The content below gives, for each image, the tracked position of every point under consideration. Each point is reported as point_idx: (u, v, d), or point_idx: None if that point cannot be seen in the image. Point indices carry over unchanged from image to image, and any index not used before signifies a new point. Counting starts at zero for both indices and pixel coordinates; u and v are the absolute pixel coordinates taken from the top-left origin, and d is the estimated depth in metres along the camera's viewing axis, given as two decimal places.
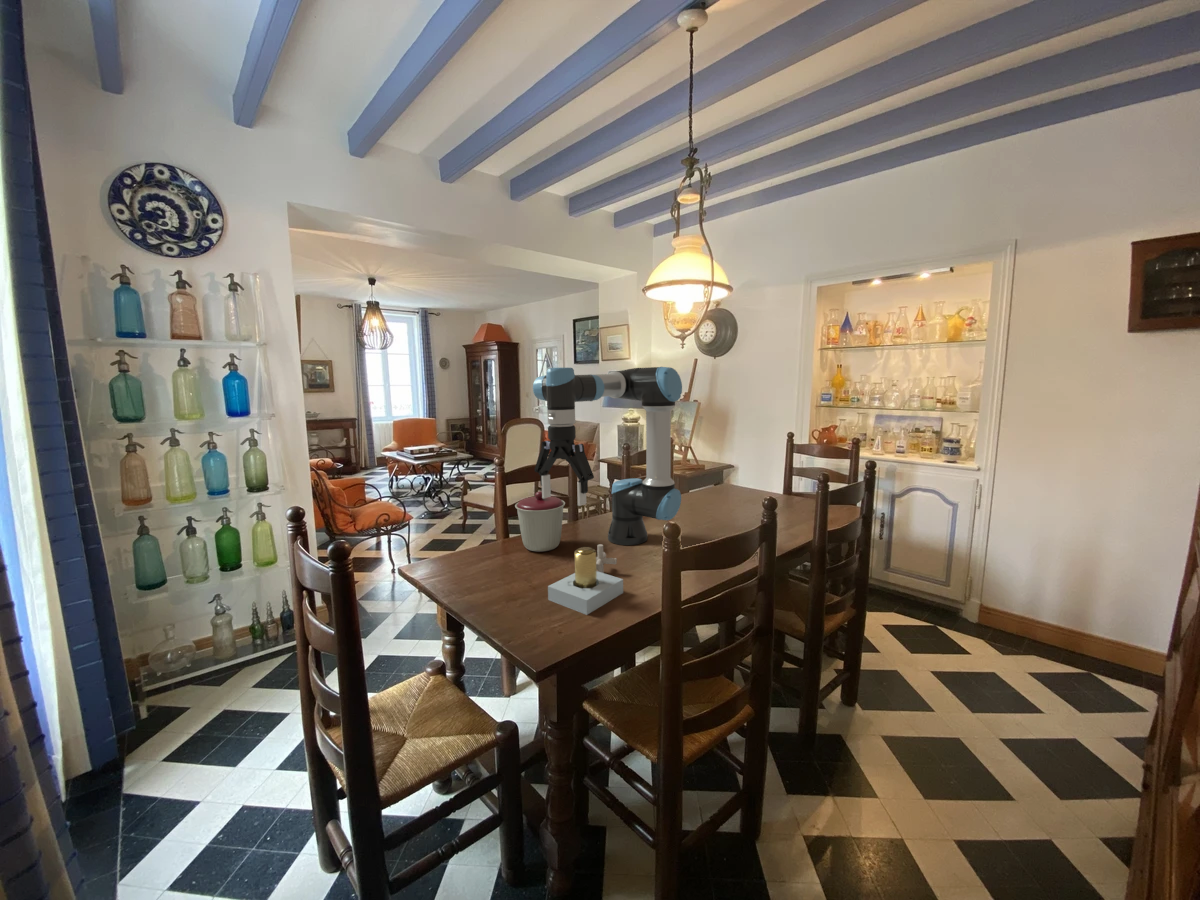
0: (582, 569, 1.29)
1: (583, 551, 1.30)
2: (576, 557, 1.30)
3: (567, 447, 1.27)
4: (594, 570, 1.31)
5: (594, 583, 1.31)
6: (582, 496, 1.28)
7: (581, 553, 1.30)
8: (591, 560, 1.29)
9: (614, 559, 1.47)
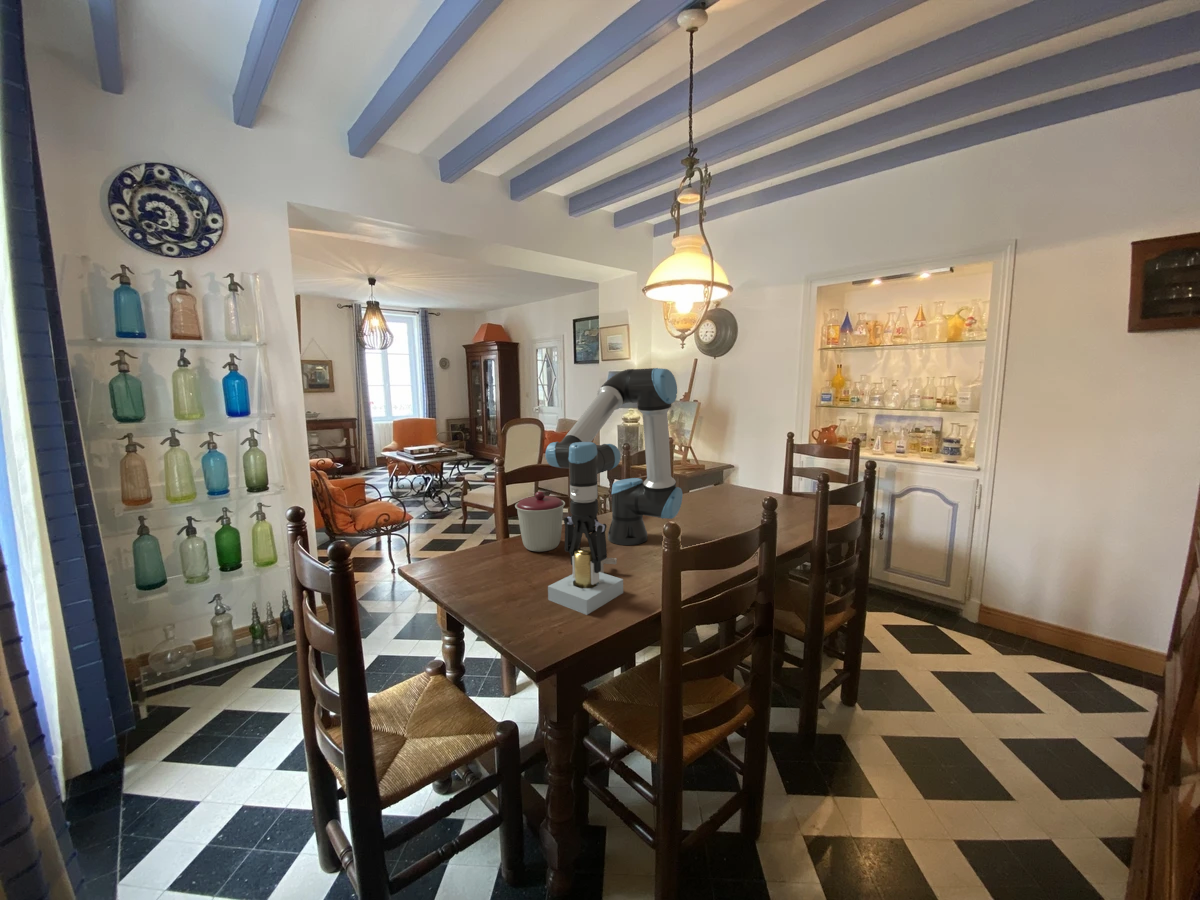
0: (582, 569, 1.29)
1: (583, 551, 1.30)
2: (576, 557, 1.30)
3: (590, 522, 1.27)
4: None
5: None
6: (595, 575, 1.30)
7: (581, 553, 1.30)
8: (591, 560, 1.29)
9: (614, 559, 1.47)
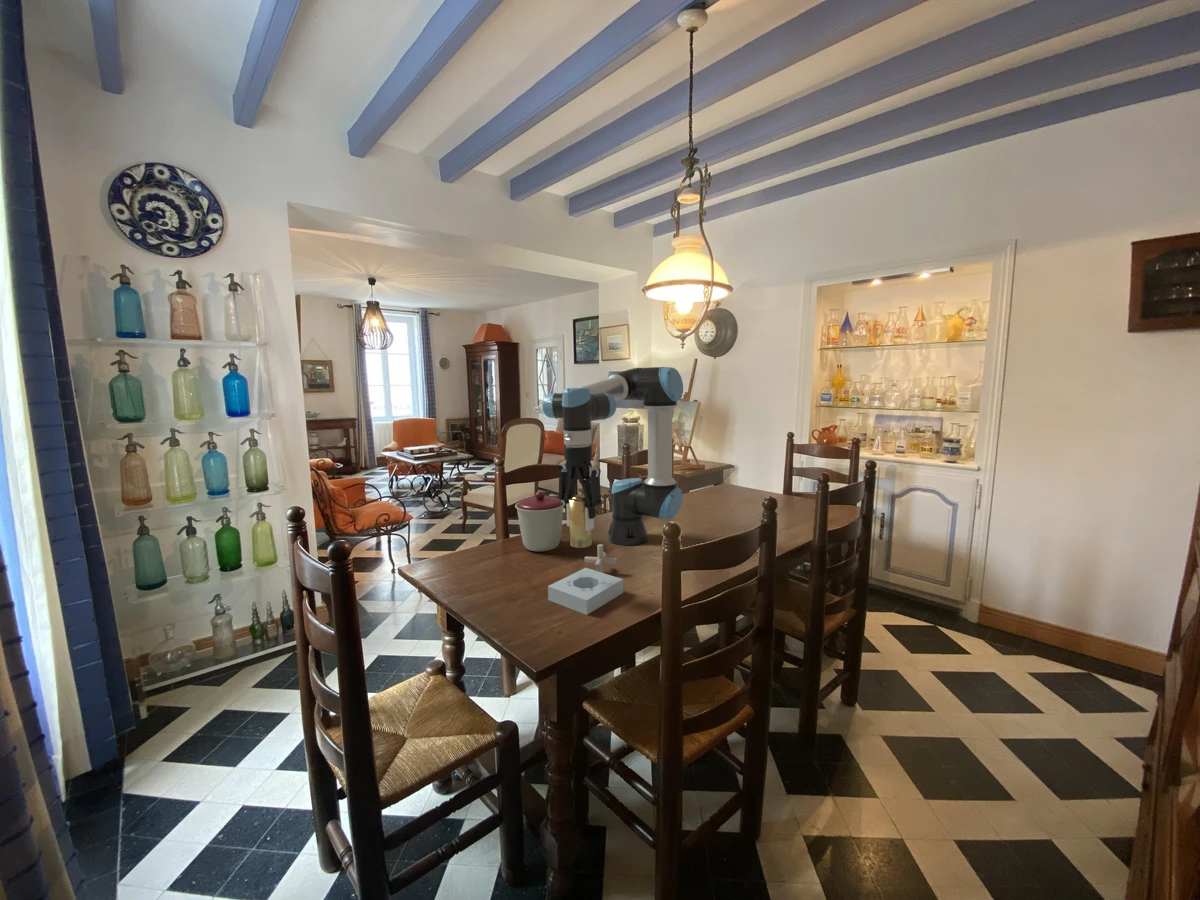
0: (576, 515, 1.29)
1: (577, 498, 1.30)
2: (570, 503, 1.30)
3: (584, 467, 1.27)
4: None
5: (589, 530, 1.31)
6: (590, 521, 1.30)
7: (575, 499, 1.29)
8: (585, 506, 1.29)
9: (614, 559, 1.47)
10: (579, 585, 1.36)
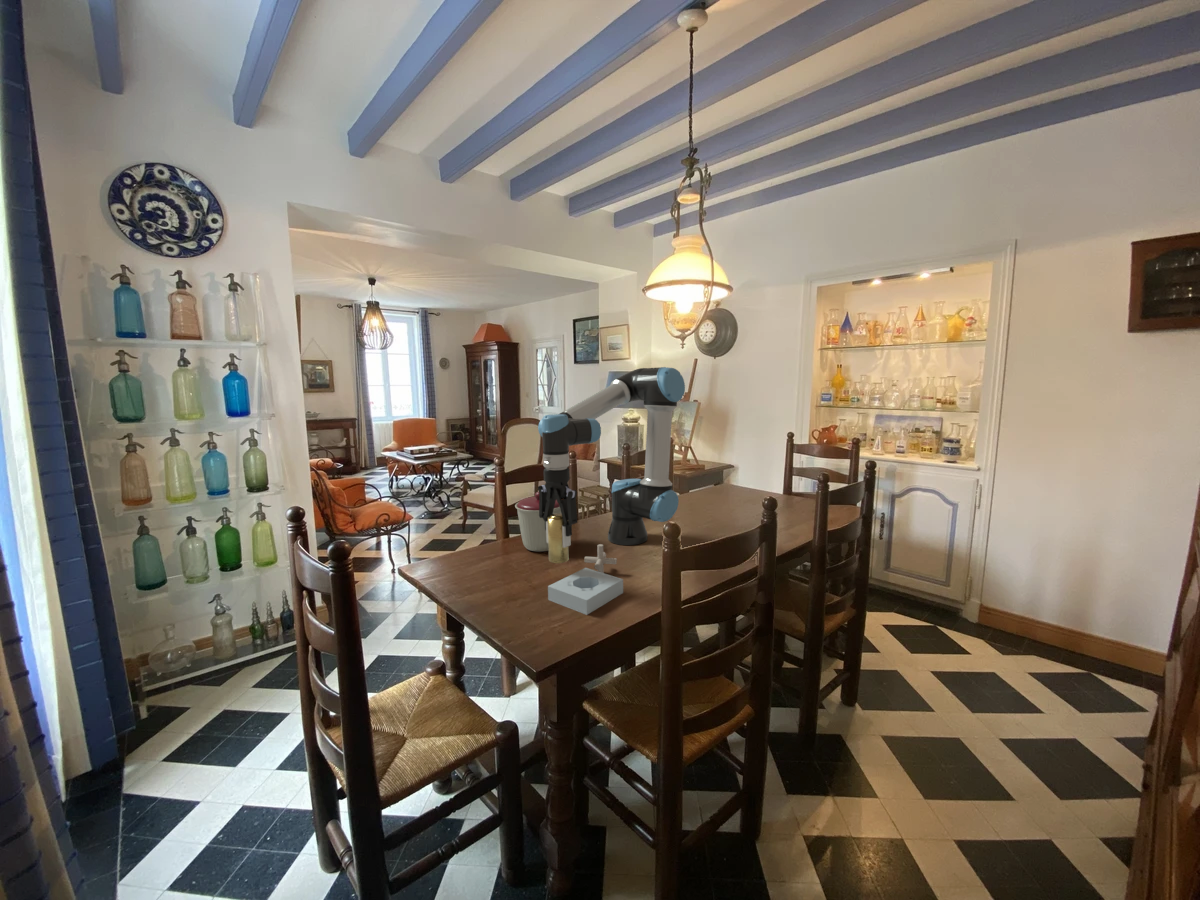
0: (554, 533, 1.39)
1: (555, 516, 1.40)
2: (549, 522, 1.39)
3: (561, 489, 1.37)
4: None
5: None
6: (567, 538, 1.39)
7: (553, 518, 1.39)
8: (563, 524, 1.39)
9: (614, 559, 1.47)
10: (579, 585, 1.36)
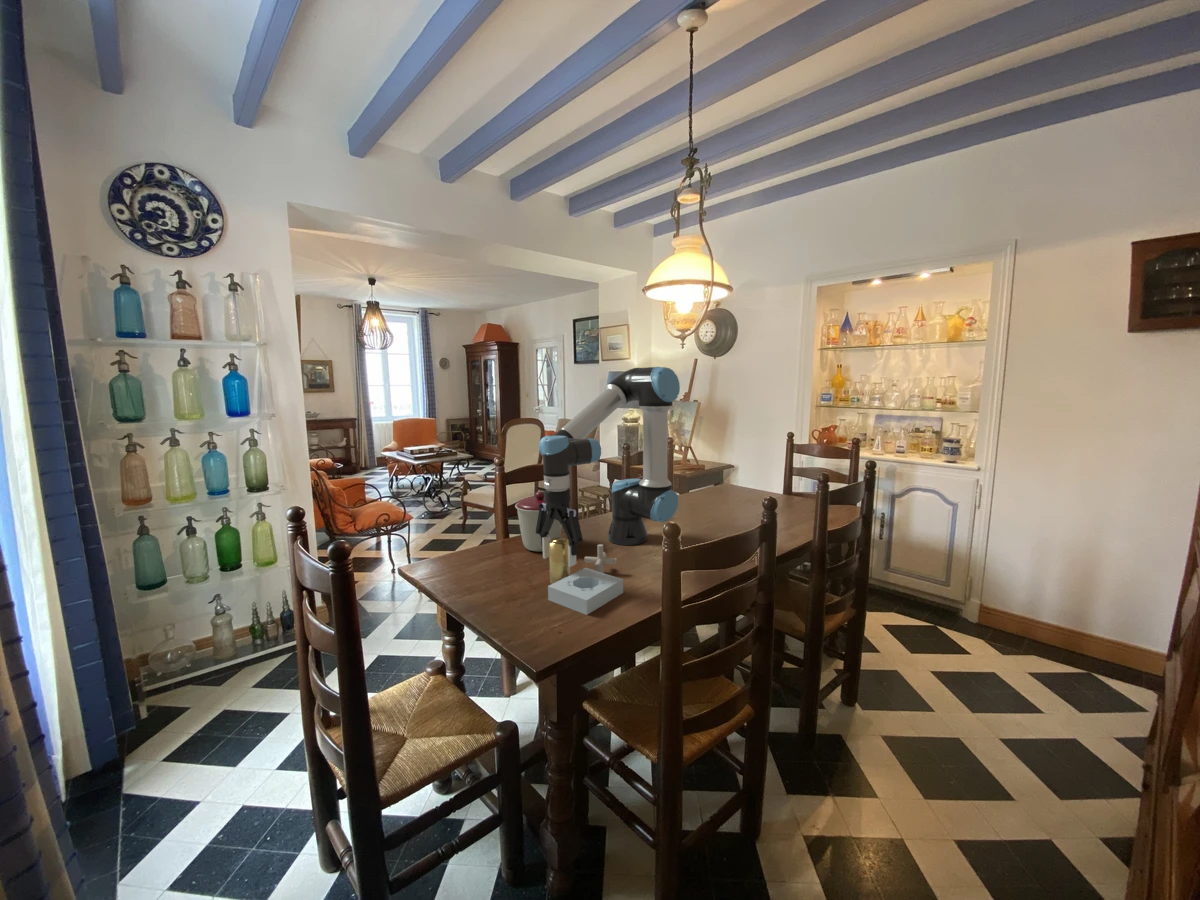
0: (555, 557, 1.40)
1: (557, 540, 1.41)
2: (550, 546, 1.40)
3: (562, 510, 1.38)
4: (567, 558, 1.41)
5: (567, 570, 1.42)
6: (572, 557, 1.39)
7: (555, 542, 1.40)
8: (564, 549, 1.40)
9: (614, 559, 1.47)
10: (579, 585, 1.36)
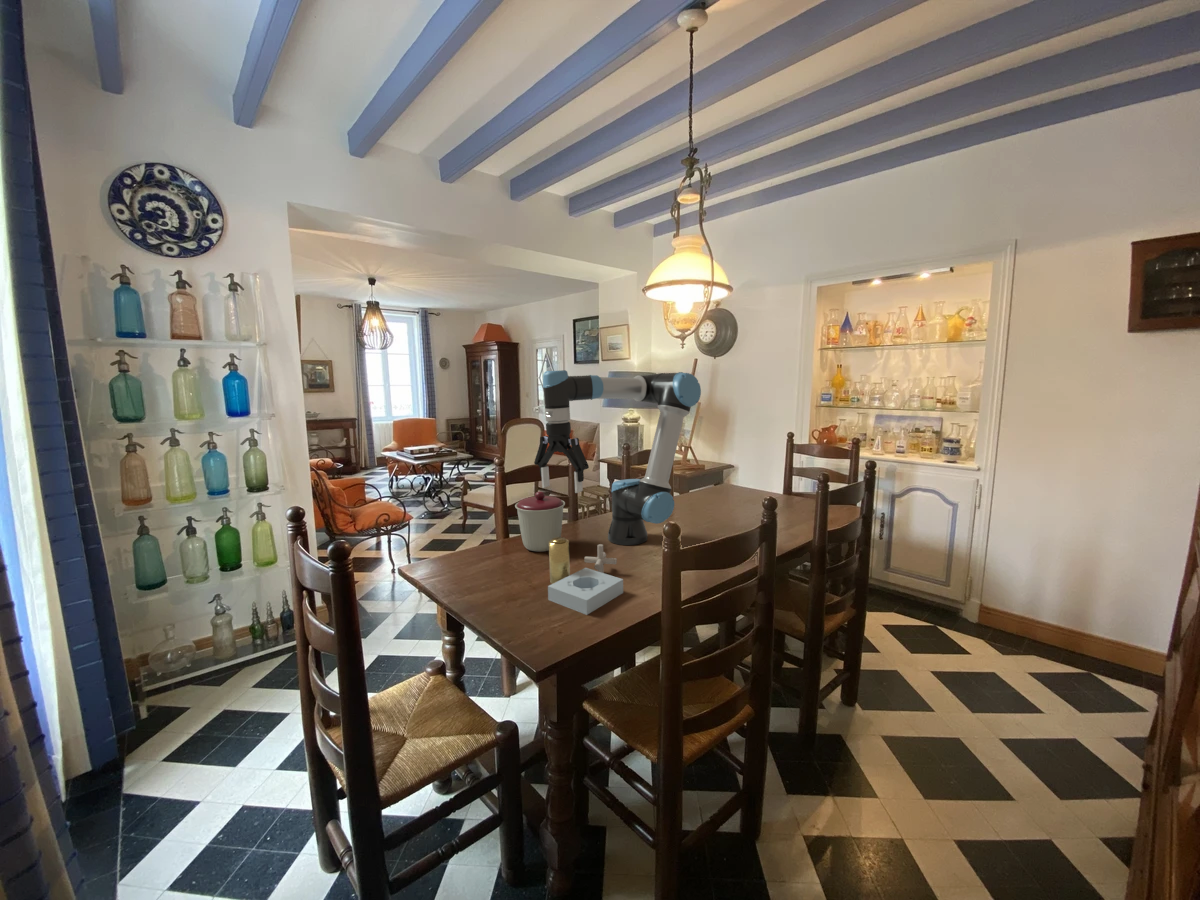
0: (555, 557, 1.40)
1: (556, 541, 1.41)
2: (550, 546, 1.40)
3: (564, 441, 1.43)
4: (567, 559, 1.41)
5: (567, 570, 1.42)
6: (579, 484, 1.44)
7: (555, 542, 1.40)
8: (564, 549, 1.40)
9: (614, 559, 1.47)
10: (579, 585, 1.36)
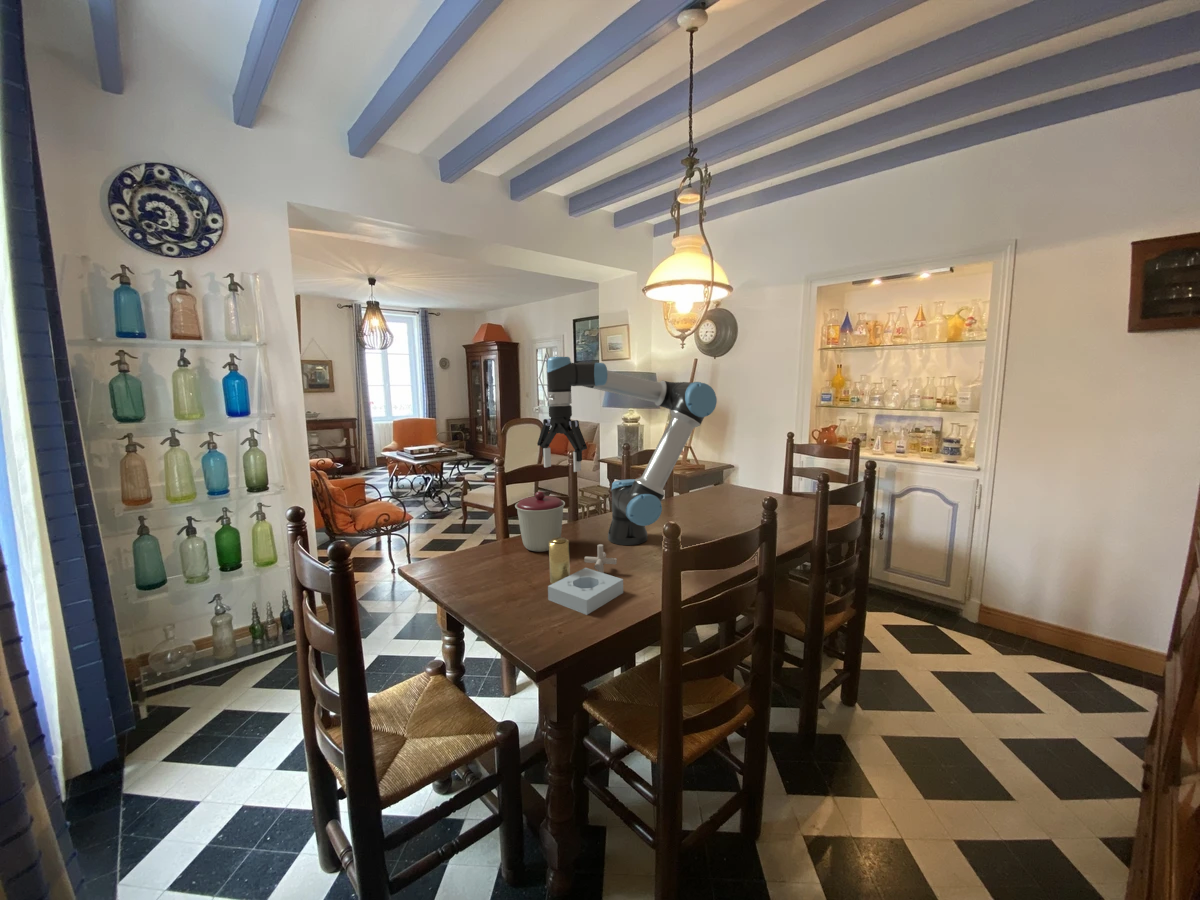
0: (555, 557, 1.40)
1: (556, 541, 1.41)
2: (550, 546, 1.40)
3: (565, 423, 1.53)
4: (567, 559, 1.41)
5: (567, 570, 1.42)
6: (577, 464, 1.53)
7: (555, 542, 1.40)
8: (564, 549, 1.40)
9: (614, 559, 1.47)
10: (579, 585, 1.36)
